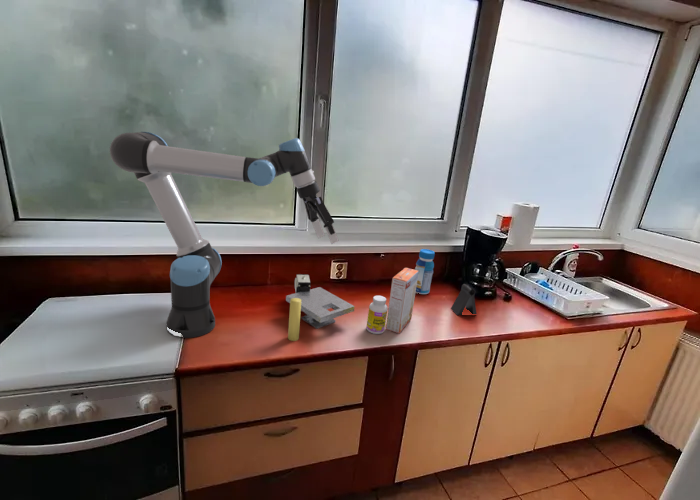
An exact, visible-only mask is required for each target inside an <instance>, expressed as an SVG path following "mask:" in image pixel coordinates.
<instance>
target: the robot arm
mask: <svg viewBox="0 0 700 500" xmlns="http://www.w3.org/2000/svg"><path fill="white" fill-rule="evenodd" d="M109 146H110V147H109V152H110V153H109V154H110V158H111V160H112V161H113V162H114V164H115V165H116V166H117V167H118V168H120V169H121V170H123V171H125V172H128V173H134V176H135V178H136V179H137V181H139V182H142V183H143V184H145V186H146V188H147V190H148V192H149V194H150V196H151V198H152V200H153V201H154V204H155V205H156V208H157V209H158V211H159V214H160V215H161V217H162V219H163V222H164V223H165V225H166V227H167V229H168V231H169V233H170V235H171V236H172V239H173V241H174V243H175V245H176V246H177V252H176V257H177V258H176V259H175V260H174V261H172V262H171V265H170V271H169V278H170V280H169V281H170V295H171V296H170V297H171V298H170V299H171V301H170V302H171V309H170V310H169V313H168V317H167V319H166V324H167V325H166V324H165V325H166V328H167V327H168V328H169V329H171V330H173V331H175V332H178V333H181V334H182V335H183V337H184V338H185V339H187V338H188V339H190V338H191V339H192V338H197V337H202V336H204V335H208V334H209V333H210V332H211V331H213V330H214V329H215V326H216V316H215V315H214V312H213V309H212V307H211V303H210V302H211V301H210V298H211V296H210V293H211V292H210V288H211V285H212V283H213V282H214V280H215V278H217V276H218V274H219V273H220V271H221V268H222V263H223V262H222V257H221V254H220V253H219V251H217V249H215V248H213V247H212V245H211V243H210V241H209V240H207V239H204V238H203V236H202V235H201V233H200V231H199V229H198V227H197V225H196V223H195V221H194V219H193V217H192V214H191V212H190V209H188V206H187V204H186V202H185V200H184V197H183V196H182V194H181V192H180V189H179V187H178V185H177V183H176V181H175V179H174V177H173V175H172V174H180V175H185V176H187V175H188V176H195V177H202V178H211V179H219V180H228V181H236V182H242V183H248V184H249V183H250V184H253V185H254V186H258V187H265V186H268V185H270V184H272V182H273V181H274V180H275V178H276V177H279V176H281V175H285V174H287V173H289V175H290V178H291V180H292V183H293V185H294V187H295V188H296V192H297V194H298V197H299V199H302V200H303V203H304V207H305V212H306V214H307V219H308V220H309V221H310V222H311V223H312V226H313V229H314V232H315V234H316V236H317V239H321V238H323V237H325V236H326V234H327V237H328V238H329V239H328V240H329V241H330V244H331V245H333V244H335V243H338V242H339V237H338V234H337V233H336V230H335V228H334V223H335V221H334V219H333V217H332V215H331V214H330V211H329V209H328V208H327V207H326V205H325V203H324V201H323V198H322V197H321V196H319V197H318V196H317V194H318V193H320V185H319V183H318V182H317V181H315V180H316V177H315V170H313V169H312V166H311V163H310V161H309V158H308V156H307V153H306V150H305V148H304V146H303V144H302V141H301V139H299V138H298V137H294V138H291V139H289V140H286V141H284V142H281V143H280V144H278V148H279V150H278V151H274V152H272V153H270V154H266V155H264V156H262V157H259V158H257V157H250V156H249V157H247V156H243V155H242V156H241V155H240V156H239V155H233V154H229V153H228V154H226V153H220V152H212V151H205V150H199V149H198V150H197V149H191V148H183V147H177V146H169V145H168V144H167V142H166V140H164V138H163V137H161V136H159V135H157V134H156V133H152V132H150V131H138V132H124V133H121V134H118V135H117V136H116V137H114V139H113V140H112V141H111V143H110V145H109ZM319 219H320V220H321V221H322V223H323V227H322V224H321V222H320V220H319ZM323 228H325V231H326V234H325V232H324V229H323Z"/></svg>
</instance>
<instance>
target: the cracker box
mask: <svg viewBox="0 0 700 500" xmlns="http://www.w3.org/2000/svg"><path fill="white" fill-rule="evenodd" d="M418 273H419V271H417V270H415V269H412V268H409V267H404V268H403V269H402V270H401V271H399V272H398V273H397V274H395V275H394V276H393V277H392V279H391V288H390V292H389V293H390V294H389V302H388V310H387V316H386V322H385V330H387V331H390V332H394V333H397V334H401V333H402V331H403V330H404V329H405V327H406V326H407V325H408V324H409V322H411V320H412V318H413V312H414V303H415V299H416V298H415V296H416V286H417V279H418Z"/></svg>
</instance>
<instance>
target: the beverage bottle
mask: <svg viewBox="0 0 700 500" xmlns="http://www.w3.org/2000/svg"><path fill="white" fill-rule="evenodd" d="M435 255H436V254H435V251H434V250H431V249H428V248H422V249H420V250H419V254H418V257H419V258H418V259H417V261H416V263H415V265H416V266H415V268H414V270H417V271H419V273H418V279H417V286H416V292H415V294H418V293H419V294H420V295H427V294H429V293H430V291H431V283H432V279H433V274H434V268H435V263H434V261H433V260H434V259H435ZM419 294H418V295H419Z"/></svg>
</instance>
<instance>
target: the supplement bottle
mask: <svg viewBox="0 0 700 500" xmlns="http://www.w3.org/2000/svg"><path fill="white" fill-rule="evenodd" d="M386 303H387V298H386V297H385V296H383V295H374V296H373V297H372V302H371V303H370V304H369V307H368V312H367V321H366V330H367V331H368V333H371V334H373V335H381V334H383V333H384V332H385V330H386V323H387V315H388V308H389V306H388V305H387V304H386Z"/></svg>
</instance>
